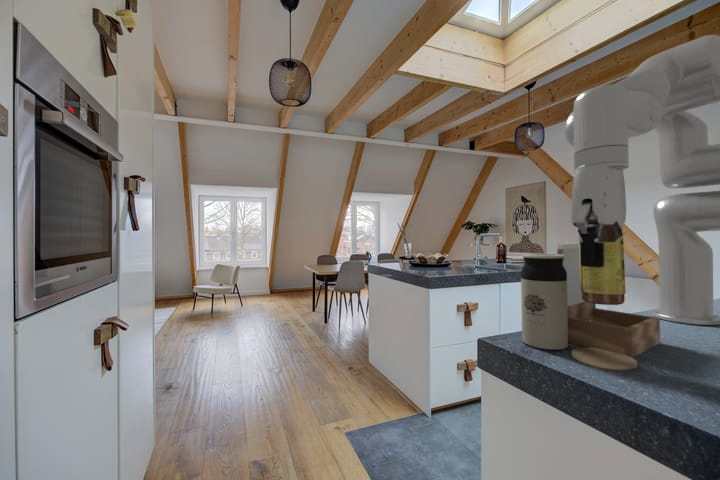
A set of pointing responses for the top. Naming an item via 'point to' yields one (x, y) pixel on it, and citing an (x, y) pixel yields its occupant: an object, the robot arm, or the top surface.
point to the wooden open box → (611, 329)
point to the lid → (572, 271)
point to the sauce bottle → (606, 271)
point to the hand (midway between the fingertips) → (601, 264)
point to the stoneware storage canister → (544, 301)
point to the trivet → (604, 359)
